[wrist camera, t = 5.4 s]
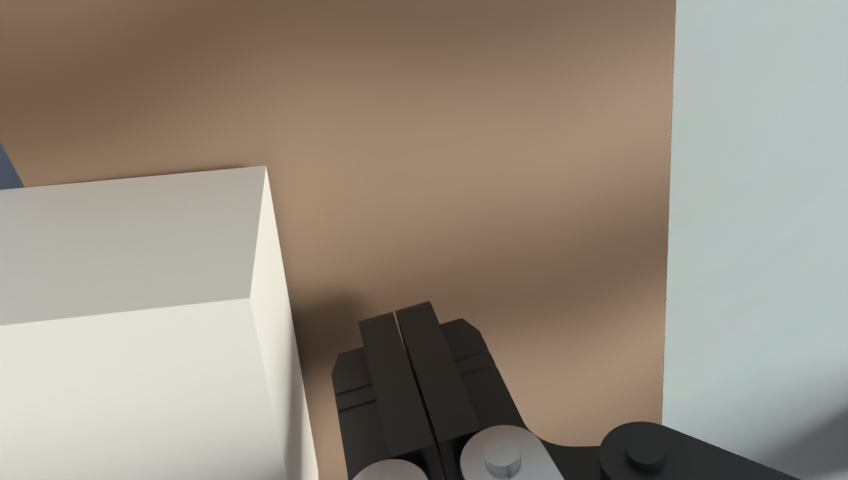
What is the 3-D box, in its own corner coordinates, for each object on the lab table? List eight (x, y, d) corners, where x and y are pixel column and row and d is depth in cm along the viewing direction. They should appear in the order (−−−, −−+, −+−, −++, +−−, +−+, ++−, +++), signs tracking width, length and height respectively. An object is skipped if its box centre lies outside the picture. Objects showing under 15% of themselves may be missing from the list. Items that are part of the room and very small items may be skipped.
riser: (-34, -53, 12) (-93, -31, 10) (611, -184, 13) (682, -189, 11) (245, 516, 20) (244, 594, 18) (619, 403, 22) (660, 463, 19)
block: (-98, 198, 11) (-269, 355, 8) (265, 165, 12) (249, 297, 9) (54, 508, 16) (-17, 697, 12) (318, 471, 16) (321, 641, 13)
